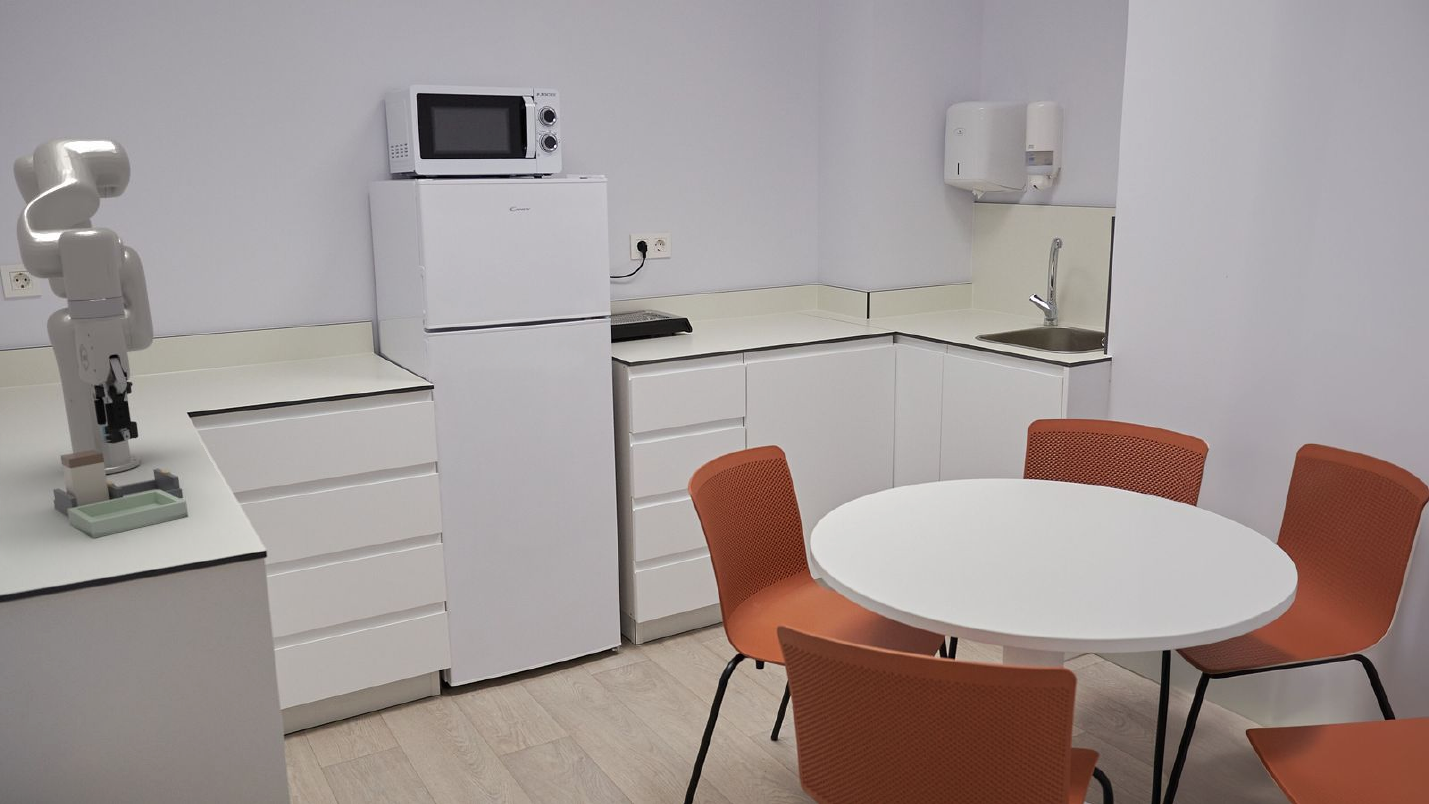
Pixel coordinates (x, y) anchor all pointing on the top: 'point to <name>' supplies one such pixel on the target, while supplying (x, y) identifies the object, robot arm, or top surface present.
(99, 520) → the tray
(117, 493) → the holder
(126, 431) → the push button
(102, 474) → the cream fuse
